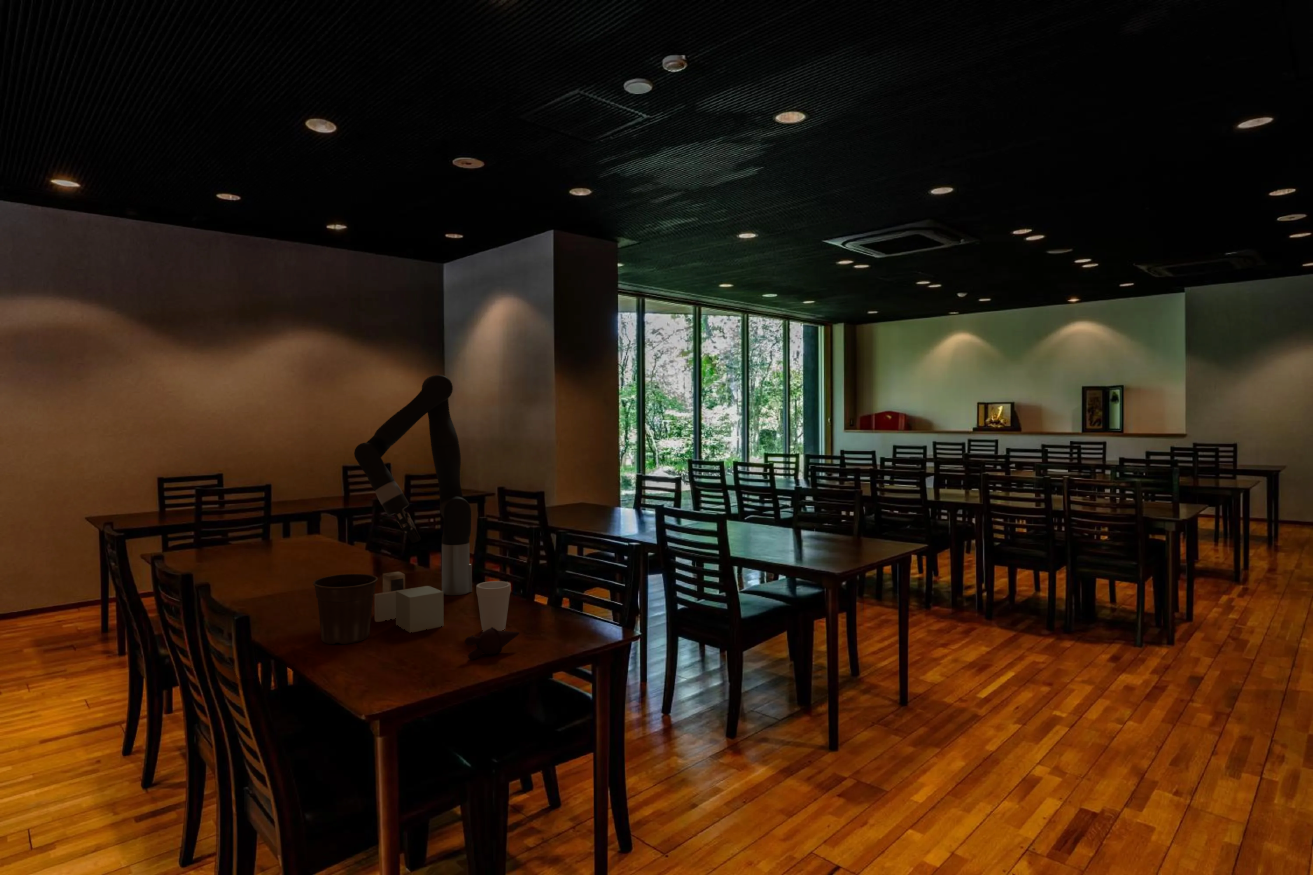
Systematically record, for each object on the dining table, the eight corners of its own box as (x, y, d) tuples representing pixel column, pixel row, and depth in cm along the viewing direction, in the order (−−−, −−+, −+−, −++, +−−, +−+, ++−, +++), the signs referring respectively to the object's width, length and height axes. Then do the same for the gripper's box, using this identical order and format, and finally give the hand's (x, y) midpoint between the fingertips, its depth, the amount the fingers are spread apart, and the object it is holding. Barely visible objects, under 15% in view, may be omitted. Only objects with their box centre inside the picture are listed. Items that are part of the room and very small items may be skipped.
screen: (426, 611, 224) (426, 585, 224) (429, 612, 223) (428, 586, 222) (374, 620, 213) (374, 593, 213) (377, 622, 212) (377, 595, 212)
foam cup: (505, 635, 200) (505, 588, 199) (472, 634, 200) (472, 588, 200) (513, 625, 209) (513, 581, 209) (481, 625, 209) (481, 580, 209)
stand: (428, 618, 216) (428, 585, 215) (443, 626, 208) (443, 591, 208) (395, 625, 209) (395, 590, 209) (410, 632, 202) (409, 597, 201)
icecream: (509, 620, 192) (457, 635, 182) (523, 619, 187) (470, 635, 177) (514, 645, 192) (463, 663, 182) (528, 645, 186) (475, 663, 176)
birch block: (398, 609, 226) (398, 571, 226) (405, 612, 222) (405, 574, 222) (382, 612, 223) (382, 573, 223) (389, 615, 219) (389, 576, 219)
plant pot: (390, 635, 199) (390, 577, 199) (338, 651, 185) (338, 589, 185) (352, 626, 207) (352, 571, 207) (300, 641, 194) (300, 581, 193)
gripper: (399, 491, 228) (425, 535, 228) (405, 493, 242) (429, 534, 242) (377, 503, 226) (403, 548, 226) (384, 504, 240) (408, 546, 240)
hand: (416, 541), depth 234 cm, fingers open, 8 cm apart
